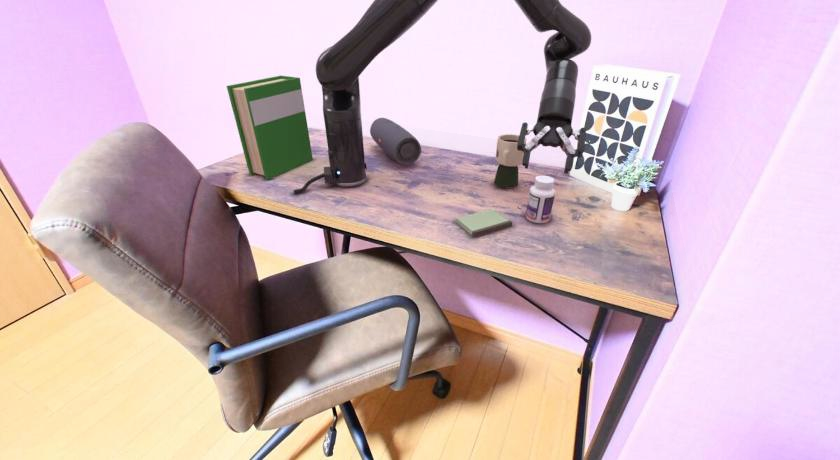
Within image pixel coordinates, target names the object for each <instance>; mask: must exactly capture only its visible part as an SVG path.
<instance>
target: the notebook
mask: <svg viewBox="0 0 840 460" xmlns="http://www.w3.org/2000/svg"><path fill="white" fill-rule="evenodd" d="M455 222H456V224H458V225H459V226H460V227H461V228H462V229H463V230H464V231H465V232H467V234H469V235H470V236H471V237H472V238H476V237H477V238H478V237H481V236H484V235H487V234H491V233H494V232H498V231H501V230H505V229H508V228H511V227H512V226H513V221H512V220H510V219H509V218H508V217H506V216H504V215H503V214H502V213H501V212H499V211H497V210H496V209H495V208H489V209H486V210H482V211H478V212H474V213H470V214H466V215H462V216H458V217H456V221H455Z"/></svg>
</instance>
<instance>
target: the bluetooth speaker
mask: <svg viewBox="0 0 840 460" xmlns="http://www.w3.org/2000/svg"><path fill="white" fill-rule="evenodd" d="M369 134H370V136H371V138H372V140H373V141H374V142H375V143H376V145H378V147H379V148H380V149H381V150H382V151H383V152H384V153H386V155H387V156H388V157H389V158H391V159H392V160H393V161H395V162H397V163H398V164H402V165H412V164H414V163H415V162H417V161H418V159H419V158H420V157H421V154H422V146H421V143H420V141H419V140H418V139H417V138H416V137H415V136H414V135H413V134H412V133H411V132H409V131H408V130H407V129H405V128H404V127H402V126H401V125H400V124H398V123H396V121H393V120H391V119H389V118H386V117H379V118H376V119H375V120H373V122H372V123H371V125H370V128H369Z"/></svg>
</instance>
